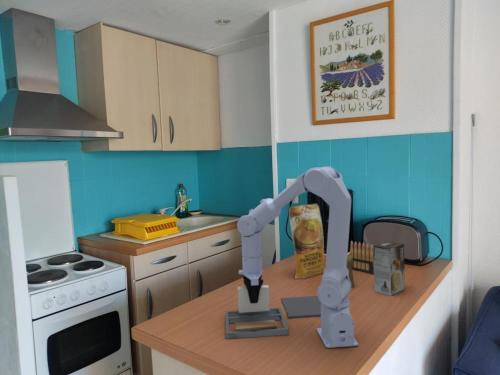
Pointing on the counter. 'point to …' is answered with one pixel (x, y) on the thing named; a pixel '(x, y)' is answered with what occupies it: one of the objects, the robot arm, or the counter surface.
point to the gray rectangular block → (253, 307)
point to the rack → (256, 316)
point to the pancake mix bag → (307, 240)
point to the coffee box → (389, 268)
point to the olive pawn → (350, 270)
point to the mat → (302, 306)
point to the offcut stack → (255, 325)
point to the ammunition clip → (362, 258)
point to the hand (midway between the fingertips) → (253, 301)
